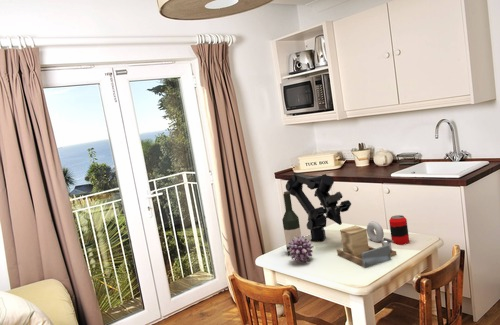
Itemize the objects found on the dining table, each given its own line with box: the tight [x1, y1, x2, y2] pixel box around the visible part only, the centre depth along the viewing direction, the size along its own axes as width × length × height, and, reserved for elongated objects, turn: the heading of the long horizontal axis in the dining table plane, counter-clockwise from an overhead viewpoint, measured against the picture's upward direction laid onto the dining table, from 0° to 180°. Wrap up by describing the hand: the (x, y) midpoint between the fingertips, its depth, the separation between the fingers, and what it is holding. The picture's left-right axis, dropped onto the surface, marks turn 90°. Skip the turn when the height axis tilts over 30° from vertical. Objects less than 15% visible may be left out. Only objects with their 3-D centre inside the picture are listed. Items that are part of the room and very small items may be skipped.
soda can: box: [388, 214, 410, 246], centre depth 194 cm, size 8×8×12 cm
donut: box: [366, 221, 385, 243], centre depth 200 cm, size 10×4×10 cm, turn 24°
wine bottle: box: [281, 190, 302, 257], centre depth 202 cm, size 8×8×30 cm
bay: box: [336, 245, 392, 269], centre depth 182 cm, size 20×13×7 cm, turn 21°
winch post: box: [381, 237, 397, 258], centre depth 179 cm, size 6×5×8 cm
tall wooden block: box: [339, 225, 370, 257], centre depth 186 cm, size 8×8×11 cm
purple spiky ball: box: [286, 235, 314, 263], centre depth 189 cm, size 12×12×12 cm
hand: (340, 224), depth 194 cm, fingers closed
